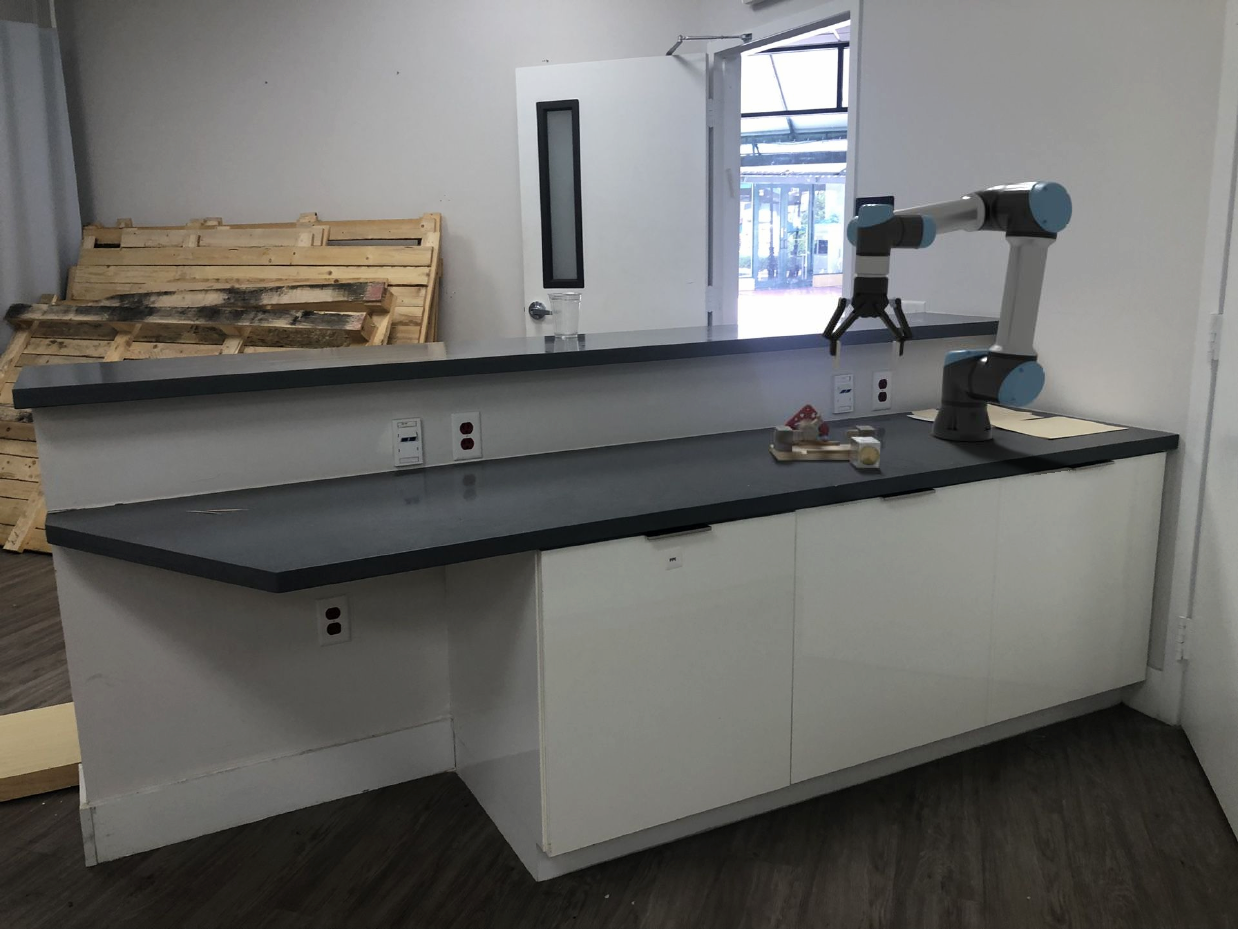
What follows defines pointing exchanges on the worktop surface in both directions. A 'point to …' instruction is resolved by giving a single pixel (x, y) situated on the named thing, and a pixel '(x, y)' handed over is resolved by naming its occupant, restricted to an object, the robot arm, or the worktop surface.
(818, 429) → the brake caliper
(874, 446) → the coupler
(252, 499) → the worktop surface
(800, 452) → the shaft bench
